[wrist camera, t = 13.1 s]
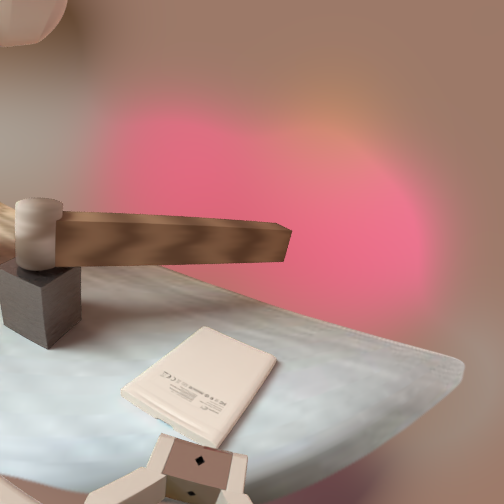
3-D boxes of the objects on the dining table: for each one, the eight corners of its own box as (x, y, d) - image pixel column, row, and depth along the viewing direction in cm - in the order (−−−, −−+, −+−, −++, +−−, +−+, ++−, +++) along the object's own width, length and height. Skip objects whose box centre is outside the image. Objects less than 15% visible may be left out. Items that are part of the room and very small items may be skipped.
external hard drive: (273, 369, 29) (214, 456, 17) (200, 337, 31) (120, 400, 20) (277, 356, 28) (217, 443, 17) (203, 324, 31) (119, 385, 19)
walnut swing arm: (13, 270, 19) (12, 210, 18) (17, 250, 22) (18, 197, 21) (287, 264, 38) (298, 224, 36) (265, 250, 41) (274, 213, 39)
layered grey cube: (4, 324, 21) (-4, 266, 20) (39, 300, 27) (36, 247, 25) (47, 349, 21) (40, 287, 19) (81, 318, 27) (81, 263, 25)
